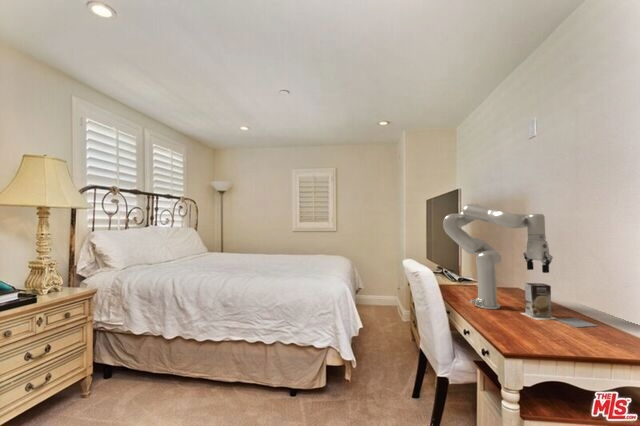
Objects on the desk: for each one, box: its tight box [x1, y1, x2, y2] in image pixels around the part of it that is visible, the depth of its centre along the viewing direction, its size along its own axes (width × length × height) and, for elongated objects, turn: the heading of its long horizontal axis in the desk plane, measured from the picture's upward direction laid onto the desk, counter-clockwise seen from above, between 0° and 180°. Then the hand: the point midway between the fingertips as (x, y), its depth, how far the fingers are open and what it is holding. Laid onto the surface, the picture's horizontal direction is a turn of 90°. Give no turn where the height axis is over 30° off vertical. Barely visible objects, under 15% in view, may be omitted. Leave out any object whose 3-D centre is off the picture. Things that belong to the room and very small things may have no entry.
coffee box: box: [524, 282, 552, 318], centre depth 158 cm, size 9×6×16 cm
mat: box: [555, 317, 599, 329], centre depth 147 cm, size 11×11×1 cm
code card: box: [520, 312, 558, 321], centre depth 158 cm, size 11×11×1 cm
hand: (537, 271), depth 158 cm, fingers open, 9 cm apart
